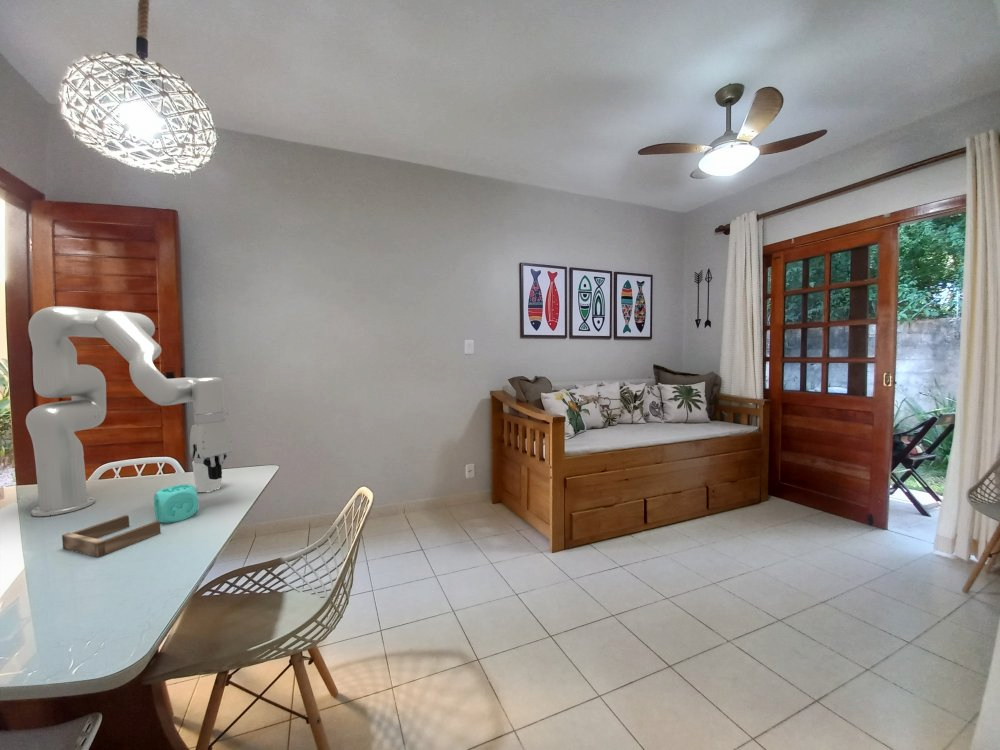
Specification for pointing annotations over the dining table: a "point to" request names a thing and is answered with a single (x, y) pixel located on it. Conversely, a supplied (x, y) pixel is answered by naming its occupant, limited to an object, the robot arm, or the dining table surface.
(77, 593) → the dining table surface
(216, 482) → the white cup
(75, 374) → the robot arm
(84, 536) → the corral
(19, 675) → the dining table surface
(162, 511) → the decorative dice
